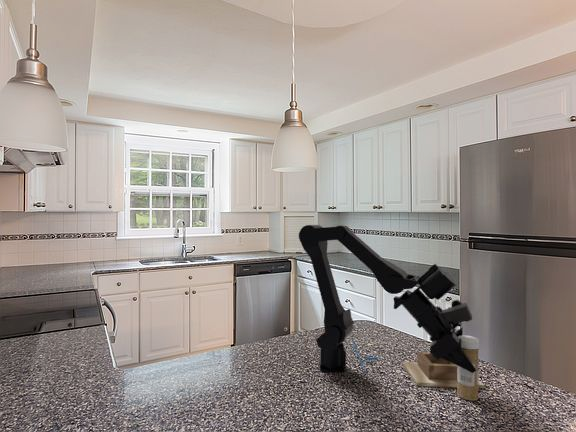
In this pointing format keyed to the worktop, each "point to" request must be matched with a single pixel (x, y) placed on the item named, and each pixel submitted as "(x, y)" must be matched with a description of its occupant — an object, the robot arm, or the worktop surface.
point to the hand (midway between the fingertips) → (474, 366)
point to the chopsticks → (367, 358)
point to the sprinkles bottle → (465, 378)
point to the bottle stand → (433, 371)
